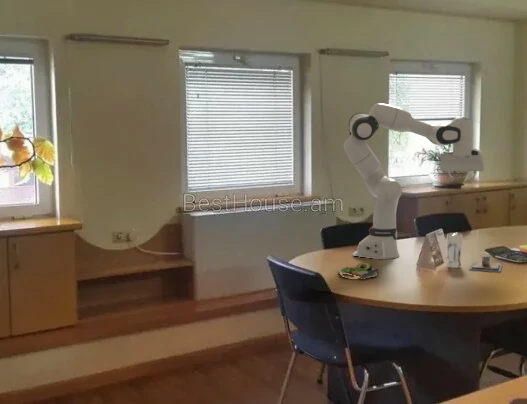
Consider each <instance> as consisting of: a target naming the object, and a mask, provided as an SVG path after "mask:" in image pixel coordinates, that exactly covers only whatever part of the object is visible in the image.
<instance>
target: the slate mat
mask: <svg viewBox="0 0 527 404" xmlns="http://www.w3.org/2000/svg"><path fill="white" fill-rule="evenodd" d="M473 263H474V262H472V263H471V264H470V267H469V268H468V270H469V271H474V272H488V273H489V272H490V273H501V271H502V267H503V264H500V265H499V269H498V271H497V270H482V269H472V265H473Z"/></svg>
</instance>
